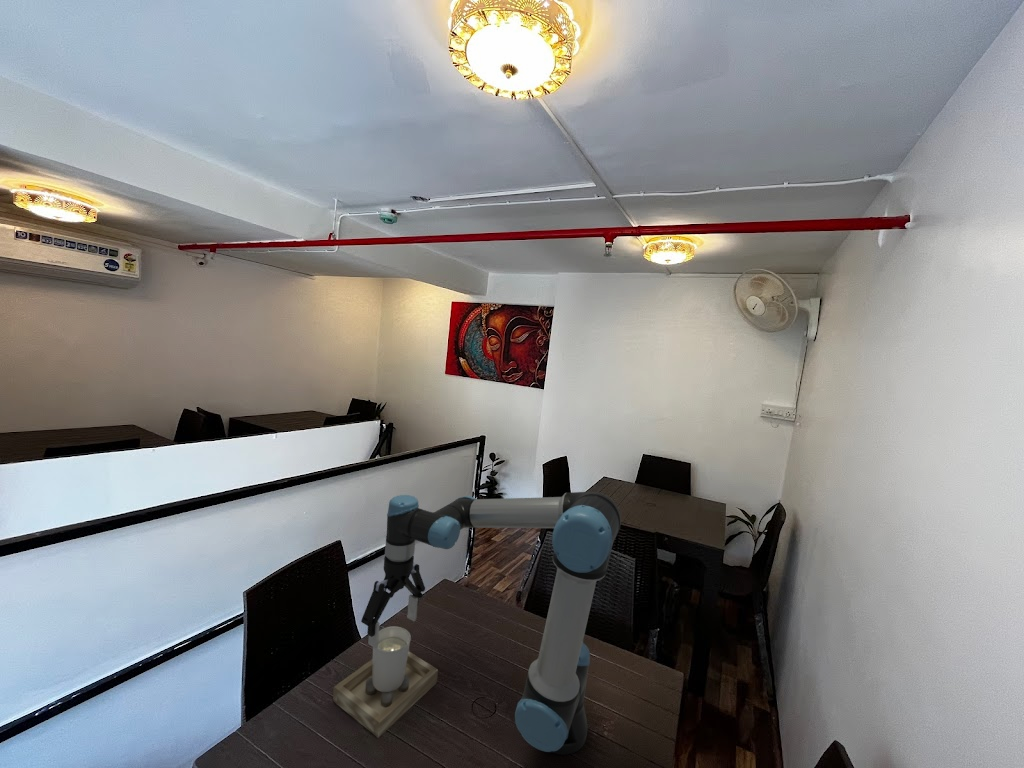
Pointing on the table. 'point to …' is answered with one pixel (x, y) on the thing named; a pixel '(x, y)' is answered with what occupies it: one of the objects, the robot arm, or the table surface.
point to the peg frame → (383, 694)
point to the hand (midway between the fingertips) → (393, 631)
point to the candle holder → (390, 658)
